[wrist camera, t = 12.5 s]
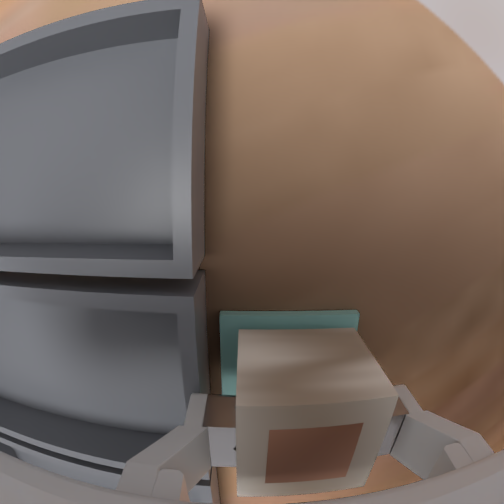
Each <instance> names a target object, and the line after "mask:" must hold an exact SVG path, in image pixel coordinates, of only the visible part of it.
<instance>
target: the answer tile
mask: <svg viewBox="0 0 504 504" xmlns="http://www.w3.org/2000/svg"><path fill="white" fill-rule="evenodd" d="M359 316H360V313H359V312H358V311H357V310H327V311H220V352H221V380H222V395H236V384H237V358H238V333H239V329H265V330H274V329H330V328H355V330H356V331H357V329H358V323H359Z"/></svg>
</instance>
